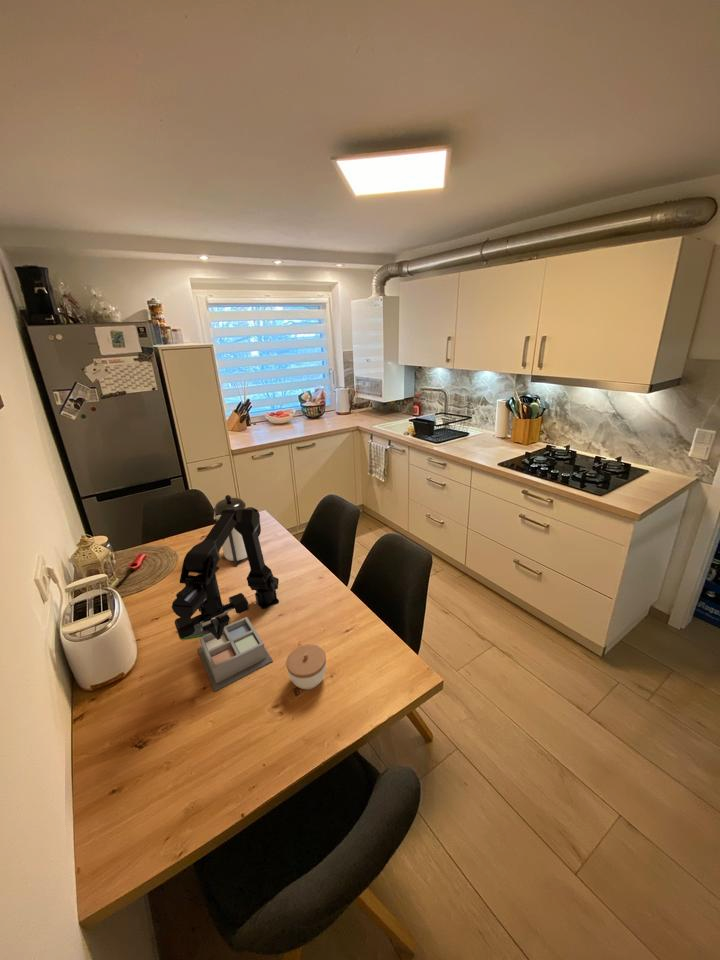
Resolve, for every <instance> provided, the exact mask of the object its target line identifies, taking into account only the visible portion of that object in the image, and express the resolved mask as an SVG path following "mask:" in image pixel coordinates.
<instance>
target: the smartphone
mask: <svg viewBox="0 0 720 960" xmlns="http://www.w3.org/2000/svg"><path fill="white" fill-rule="evenodd" d="M211 620H212V622H213V624H214V627H215V629H216V620H215V618H213V619H211ZM230 621H231V619H230V620H229V621H227V623H226V625H225V626H227V625H229V624H231V623H230ZM194 628H195V632H194V633H193V634H192V635H190V636H187V637H185V638H183V639H185V640H190V639H196V638H200V637H202V636H204V635H207V634H209V633H210V632H209V631H208V630H207V631H203V630H202V628H201V625H200V623H199V624H196V625H194ZM216 630H217V629H216Z"/></svg>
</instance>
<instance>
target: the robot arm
mask: <svg viewBox="0 0 720 960" xmlns="http://www.w3.org/2000/svg"><path fill="white" fill-rule="evenodd" d="M260 516H261V515H260V513H259V510H258V509H257V508H255V507H253V508H248V507H245V508H236V509H235V508H226V509H223V510H222V512H221V516H220V518H219V519H218V521H217V520H216V522H215V523H214V525H213V526H212V528H210V530H209V532H208V533H207V535H206V536H205V538H204V539H203V540H202V541H201V542H198V543H197V544H195V545H193V547H191V549H189V551H187V553H186V554H185V556H184V558H183V562H182V566H181V567H182V568H181V573H180V578H179V584H182V585H183V584H184V585H185V586H184V587H183V588H182V589H181V590H180V591H178V592H177V593H176V595H175V597H176V598H175V599H174V600H173V601H172V603H171V609H172V612H173V613H174V614H175V615H176V616H178V617H177V618H175V620H174V621H173V622H174V625H175V628H176V632H177V635H178V639H183V638H185V637H187V636H190V635H192V634H193V633H194V632H195V628H194V625H196V624H199V623H200V625H201V628H202V630H203V631H207V630H208V631H209V632H210V633H212V634H213V635H214V636H215V638H216V639H217V640H219V639H220V638H221V635H222V632H223V629H224V627H225V625H226V623H227V621H229V620H230V621H231V617H230V616H229V612H231V611H233V610H234V611H235V613H236V614H238V615H240V614H243V613H245V612H247V611H249V610H250V603H249V600H248V598H246V596H245V595H244V594H243V593H242V592H239V593H236V594H235V595H232V596H229V597H228V601H229V602H227V603H225V604H224V603H223V601H222V598H221V593H220V589H219V584H218V579H217V575H216V573H217V572H218V571H219V570H220V566H217V565H218V563H219V561H220V558H221V557H220V551H221V549H222V548H223V547H222V546H223V544H224V542H225V541H226V539H227V538H228V536H229V534H230V533H231V531H232V530H233V528H235V530H236V531H238V532H239V533H240V534H241V535H242V538H243V542H244V546H245V550H246V554H247V560H248V565H249V568H250V570H249V572H248V575H247V576H246V581H247V586H248V587H249V588H250V590H251V591H255V592H254V595H255V596H254V597H255V602H256V604H257V605H258V606H259V607H260V608H261V609H262V610H265V609H267V608H270V607H272V606H274V605H276V604H278V603H280V600H279V599H278V597H277V591H276V590H278V589H279V581H280V580H279V578H278V577H276V576H274V574H273V572H272V569H271V568H270V567H269V566H268V565H267V564H265V559H264V555H263V551H262V547H261V543H260V542H261V541H260V539H259V538H260V537H258V534H257V528H258V526H259V524H260V525H261V520H260V519H261V518H260ZM190 573H191V574H192V573H193V574H196V575H191V574H190ZM197 611H198V612H199V613H200V614H198V615H196V616H193V615H195V614H196V612H197ZM211 619H215V620H216V629H217V631H216V629H215V627H214V624H213V622H212V620H211Z"/></svg>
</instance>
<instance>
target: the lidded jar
mask: <svg viewBox="0 0 720 960" xmlns="http://www.w3.org/2000/svg"><path fill="white" fill-rule="evenodd" d="M285 663H286V669H287V673H288V676H289V679H290V680H291V683H293V684H294V685H295V686H296V687H297V688H299V689H302V690H307V691H308V690H312V689H315V688H316V687H317V686H318V685H319V684H320V683H321V682H322V681H323V679H324V677H325V676H326V675H325V674H326V669H327V655H326V652H325V650H324V649H323V648H322V647H320V646H318V645H316V644H312V643H311V644H310V643H309V644H304V645H303V644H302V645H300V646H298V647H295V648H294V649H293V650H292V651H291V652H289V654H288V656H287V658H286V661H285Z"/></svg>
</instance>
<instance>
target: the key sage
mask: <svg viewBox="0 0 720 960" xmlns="http://www.w3.org/2000/svg"><path fill="white" fill-rule="evenodd" d="M256 645H258V642H257V641H256V639H255V637H254V636H253V635H251V636H249V637H246V638H244V639H242V640H240V641H238V642H236V643H235V646H236V648H237V649H238V651H239V653H242V652H244V651H246V650H248V649H250V648H252V647H254V646H256Z"/></svg>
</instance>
